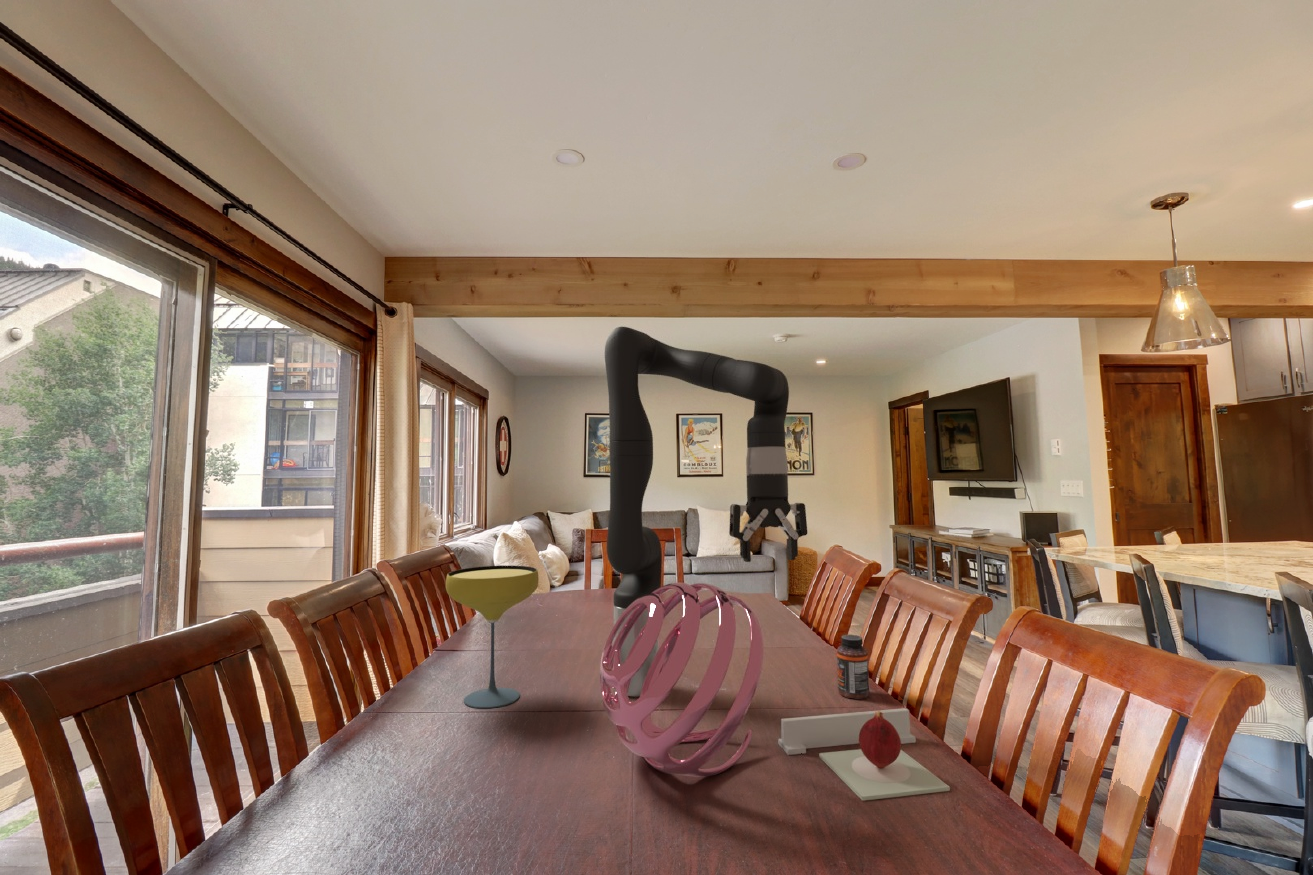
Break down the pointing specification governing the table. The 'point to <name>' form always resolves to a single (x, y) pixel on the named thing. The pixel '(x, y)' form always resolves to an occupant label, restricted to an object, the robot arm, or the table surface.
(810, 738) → the low fence
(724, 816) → the table surface
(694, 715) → the spiral basket
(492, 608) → the cocktail glass
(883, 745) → the onion
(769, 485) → the robot arm
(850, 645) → the supplement bottle
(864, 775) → the mat
